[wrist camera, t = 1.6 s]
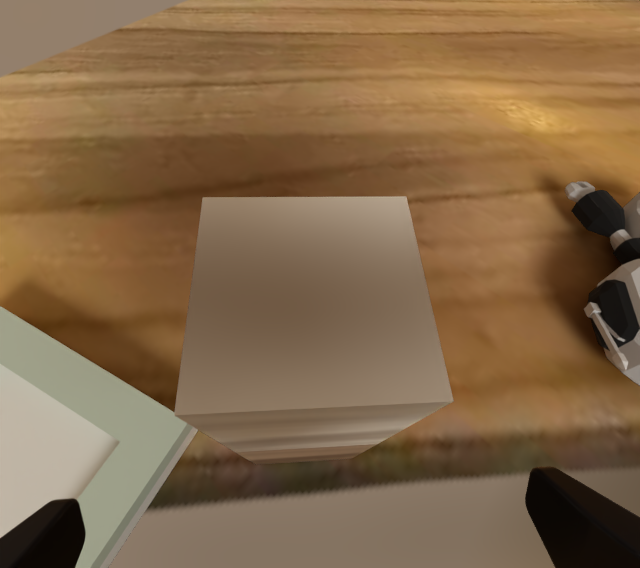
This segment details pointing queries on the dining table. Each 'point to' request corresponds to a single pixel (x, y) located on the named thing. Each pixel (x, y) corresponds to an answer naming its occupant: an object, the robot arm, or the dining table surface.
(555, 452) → the dining table surface
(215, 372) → the block stack
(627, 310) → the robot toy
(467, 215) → the dining table surface
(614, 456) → the dining table surface
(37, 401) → the picture frame
